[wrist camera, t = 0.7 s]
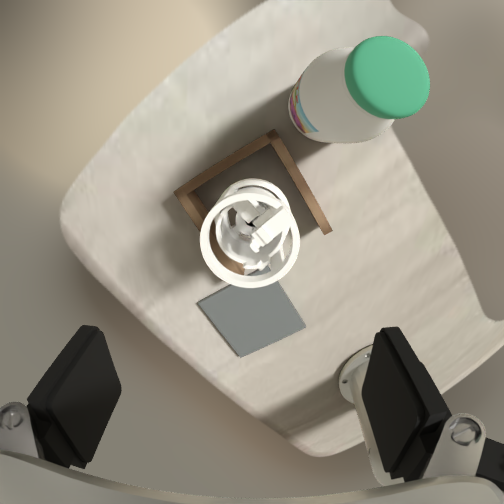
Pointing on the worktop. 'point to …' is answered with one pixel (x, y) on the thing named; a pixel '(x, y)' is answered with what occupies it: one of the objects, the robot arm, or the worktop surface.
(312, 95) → the milk bottle
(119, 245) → the worktop surface
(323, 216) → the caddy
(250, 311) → the trivet
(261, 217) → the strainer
